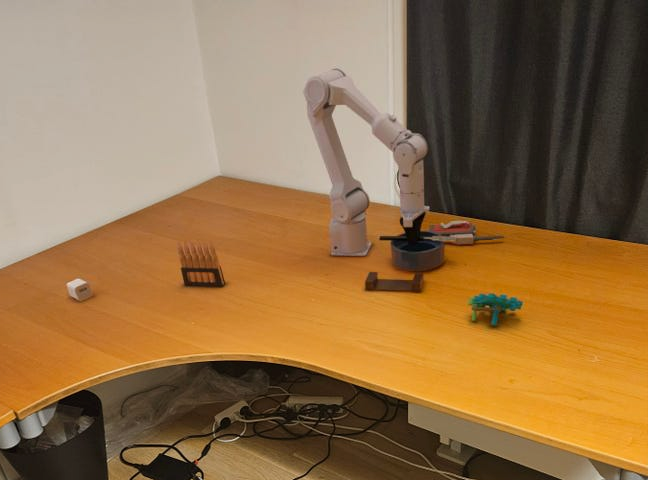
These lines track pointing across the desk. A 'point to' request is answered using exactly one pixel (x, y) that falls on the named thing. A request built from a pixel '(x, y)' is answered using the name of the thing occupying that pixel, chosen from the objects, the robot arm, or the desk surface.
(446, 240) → the fork
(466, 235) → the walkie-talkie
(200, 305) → the desk surface
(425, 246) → the bowl
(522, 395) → the desk surface
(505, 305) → the teal knobby toy
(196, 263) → the ammunition clip
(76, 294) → the usb wall charger
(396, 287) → the cutlery rest
